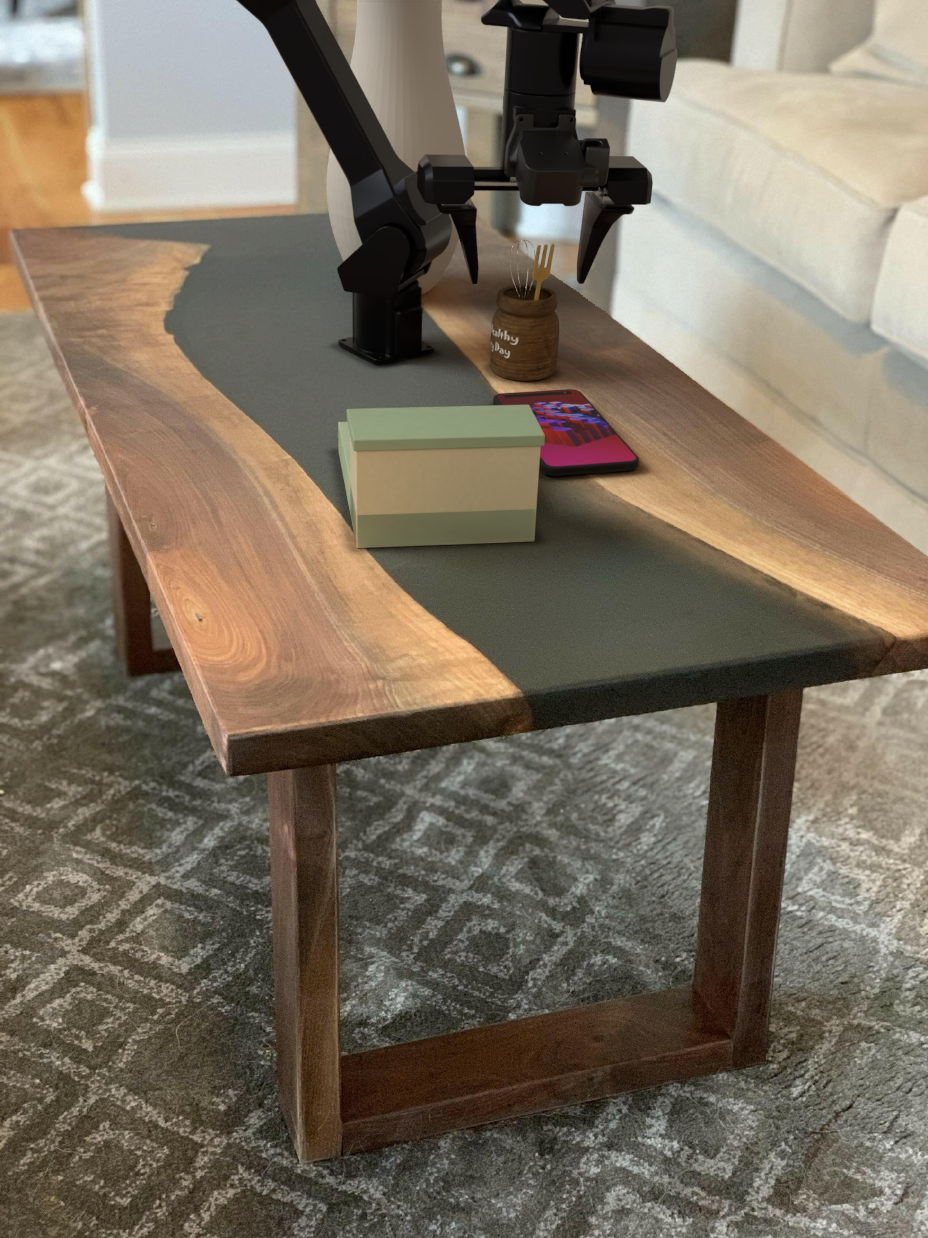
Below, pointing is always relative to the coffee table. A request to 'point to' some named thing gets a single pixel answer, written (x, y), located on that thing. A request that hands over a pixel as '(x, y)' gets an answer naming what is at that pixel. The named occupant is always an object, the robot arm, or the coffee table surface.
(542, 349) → the utensil holder
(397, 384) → the coffee table surface
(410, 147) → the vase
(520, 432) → the beige rectangular box
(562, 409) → the smartphone
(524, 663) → the coffee table surface
